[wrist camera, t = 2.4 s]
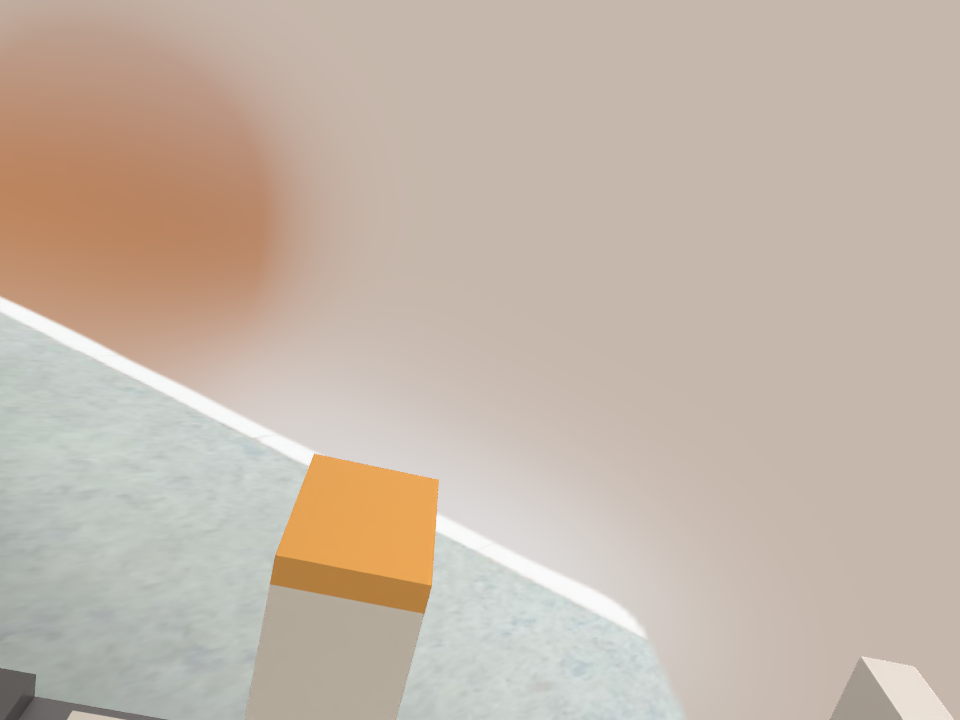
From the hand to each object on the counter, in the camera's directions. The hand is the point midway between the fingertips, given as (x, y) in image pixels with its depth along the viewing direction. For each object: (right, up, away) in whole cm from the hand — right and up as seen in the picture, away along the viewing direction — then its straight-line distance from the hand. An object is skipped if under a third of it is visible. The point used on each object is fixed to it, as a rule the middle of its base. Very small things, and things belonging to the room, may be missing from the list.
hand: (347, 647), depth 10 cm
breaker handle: (-4, -12, +15) cm, 19 cm away
